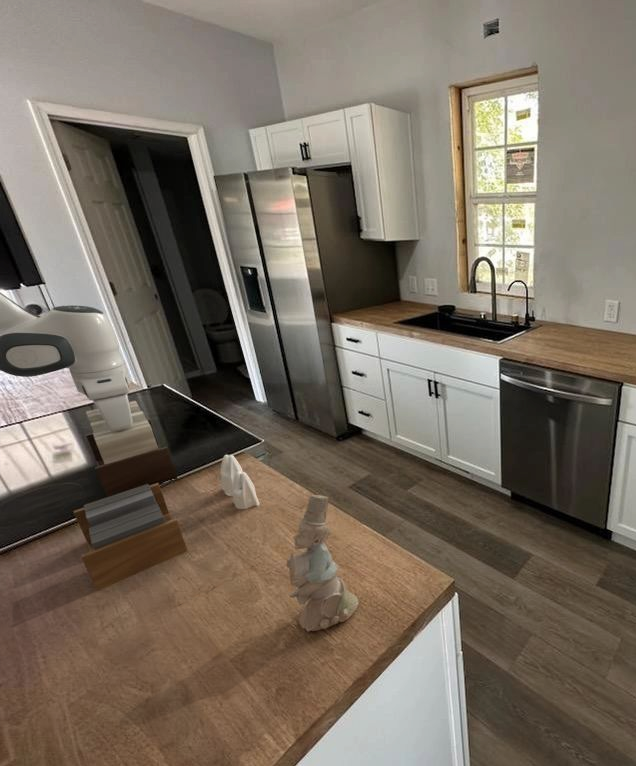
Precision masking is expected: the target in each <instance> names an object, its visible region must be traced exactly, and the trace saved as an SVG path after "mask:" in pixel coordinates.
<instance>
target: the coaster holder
mask: <svg viewBox="0 0 636 766" xmlns="http://www.w3.org/2000/svg"><path fill="white" fill-rule="evenodd" d="M73 514H74V517H75V519H76V521H77V523H78V525H79V528H80V530H81V532H82V534H83V538H84V539H85V542H86V543H87V547H88V552H85V553H83V554H81V555H80V556H81V560H82V562H83V564H84V566H85V569H86V570H87V572H88V575H89V577H90V580H91V581H92V584H93V586H94V587H95V590H96V591H97V592H99V591H101V590H103V589H106V588H108V587H111V586H112V585H114V584H117V583H119V582H121V581H124V580H127V579H129V578H131V577H133V576H135V575H137V574H139V573H141V572H144V571H147V570H148V569H151V568H153V567H156V566H157V565H160V564H162V563H164V562H167V561H169V560H171V559H174V558H175V557H178V556H181V555H183V554H185V553H188V548H187V545H186V542H185V539H184V536H183V533H182V530H181V528H180V524H179V522H178V518H177V517H176V518H172V516H171V514H170V511H169V509H168V505H167V503H166V499H165V496H164V494H163V491H162V488H161V486H160V485H159V483H156V484H153V485H150V486H149V485H148V484H146V485H143V486H140V487H137V488H134V489H131V490H128V491H125V492H122V493H119V494H116V495H113V496H110V497H107V496H106V497H104V498H101V499H97V500H95V501H92V502H88V503H85V504H83V507H81V508H79V509H76V510H73Z"/></svg>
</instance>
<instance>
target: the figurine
mask: <svg viewBox="0 0 636 766" xmlns="http://www.w3.org/2000/svg"><path fill="white" fill-rule="evenodd" d="M329 501H330V500H329V496H326V495H322V494H321V495H319V494H311V495H310V497H309V500H308V503H307V506H306V510H305V513H304V514H303V518H302V519H301V521H300V523H298V527H297V528H298V529H297V531H298V532H297V533H296V534H294V536H293V540H294V549H295V550H303V549H306V550H304V551H303V552H298V553H297V552H296V553H294V552H291V553H290V555H289V557H287V558H286V561H285V562H286V563H285V565H286V568H287V569H289V580H290V585H291V586H293V587H296V590H295V591H294V592H292V593H291V594H290V595H289V598H293V599H294V598H296V601H297V603H298V604H299V605H301V606H302V605H305V606H304V607H303V609H302V611H301V612H300V615H299V617H298V619H299V620H298V623H299V625H300V627H301V629H303V630H305V631H306V632H311V631H312V632H315V631H320V630H326V629H327V628H329V627H331V626H334V625H336V624H338V623H339V622H340V623H343V622H345V621H347V620H348V619H349V618H350V617H351V616H352V615H353V614H354V612H355V611H356V610H357V609H358V606H359V599H358V597H357V595H355V594H354V593H353V592H350V591H349V590H348V589H347V587H346V584H345V581H344V579H343V578H342V577H340V576H338V574H339V565H338V564H337V563H336V562H335V561H334V560H333V557H332V554H331V553H330V551H329V549H328V547H327V545H326V543H325V542H326V541H327V540H328V539H329V536H330V535H331V529H330V526H328V525H327V522H326V520H327V513H328V507H329Z"/></svg>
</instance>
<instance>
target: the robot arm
mask: <svg viewBox="0 0 636 766" xmlns="http://www.w3.org/2000/svg"><path fill="white" fill-rule="evenodd" d="M119 343H120V342H119V339H118V338H117V334H116V333H115V330H114V327H113V325H112V323H111V321H110V319H109V318H108V316H107V315H106V314H105V313H104V312H103V311H101V310H100V309H99V308H98V309H97V308H95V307H92V306H86V305H58V306H55V307H52V308H51V309H50V310H49V311H48V312H46V313H44V314H43V315H39V314H36V313H34V312H32V311H30V310H27V309H26V308H23V307H22V306H20V305H19V304H18V303H17V302H15V301H13V300H12V299H11V298H9V297H8V296H6V295H5V294H4V293H2V292H0V371H1V372H3V373H6V374H7V375H11V376H14V377H20V378H21V377H22V378H31V377H32V378H33V377H37V376H43V375H47V374H50V373H54V372H57V371H58V372H59V371H61V370H64V369H68V370H69V373H70V375H71V376H70V377H71V378H72V381H73V383H74V386H75V388H76V390H77V392H78V393H81V394H83V395H84V396H86V397H87V399H88V400H89V401H92V403H93V404H94V406H95V407H96V409H98V410H99V412H100V414H101V415H102V417H103V419H104V421H105V423H106V424H107V426H108V427H109V429H110V430H111V431H112V432H115V431H119V430H124V429H127V428H131V427H132V426H133V421H132V415H131V410H130V405H129V402H130V400H129V396H128V394H129V393H130V385H131V383H132V378H131V376H130V373H129V369H128V367H127V364H126V361H125V359H124V357H122V355H121V353H120V349H119V348H120V345H119Z"/></svg>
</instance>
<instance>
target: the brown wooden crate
mask: <svg viewBox="0 0 636 766" xmlns="http://www.w3.org/2000/svg"><path fill="white" fill-rule="evenodd" d="M129 405H130V410H131V413H136V412H140V411H141V408H140V406H139V404H138V402H137V401H136V400H132V401H129ZM85 413H86V416H87V419H88V422H89V424H90V423H93V422H97V421H101V420H104V419H103V417H102V415H101V414H100V412H99V410H98V408H95V409H91V410H85ZM85 437H86V439H87V442H88V444H89V446H90V449H91V452H92V454H93V457H94V459H95V461H96V465H97V466H95V467H94V469H95V471H96V474H97V476H98V479H99V481H100V484H101V486H102V489H103V491H104V493H105V496H106V498H107V497H110V496H113V495H116V494H119V493H122V492H125V491H128V490H131V489H134V488H137V487H140V486H143V485H146V484H148V485H149V486H150V485H153V484H156V483H163V482H165V481H168V480H172V479H176V480H178V475H177V474H176V470H175V468H174V465H173V461H172V458H171V455H170V452H169V448H168V447H167V446H164V447H161V446H160V444H159V442H158V439H157V436H156V433H155V430H154V427H153V423H152V421H151V418H149V419H146V420H143V421H139V422H135V423H133V426H132V427H131V428H127V429H124V430H119V431H115V432H112V431H111V430H110V429H107V430H103V431H98V432H92V433H87V434H85Z"/></svg>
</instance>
